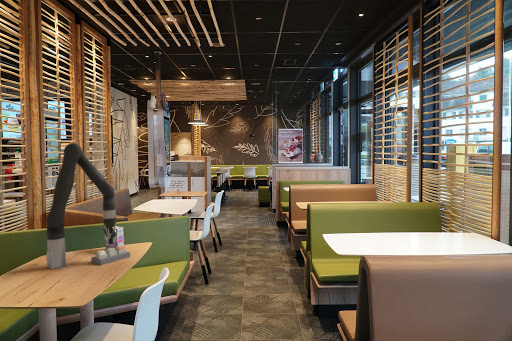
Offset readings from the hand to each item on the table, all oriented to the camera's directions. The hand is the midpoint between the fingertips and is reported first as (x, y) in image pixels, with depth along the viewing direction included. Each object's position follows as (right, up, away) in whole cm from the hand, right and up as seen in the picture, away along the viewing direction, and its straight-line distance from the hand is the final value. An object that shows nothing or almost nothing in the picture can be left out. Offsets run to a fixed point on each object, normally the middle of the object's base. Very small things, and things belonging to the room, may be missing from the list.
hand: (110, 243), depth 224 cm
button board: (0, -10, 0) cm, 10 cm away
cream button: (-4, -6, -5) cm, 9 cm away
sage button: (0, -6, 0) cm, 6 cm away
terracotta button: (+4, -5, +5) cm, 8 cm away
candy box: (-7, -9, +23) cm, 26 cm away
